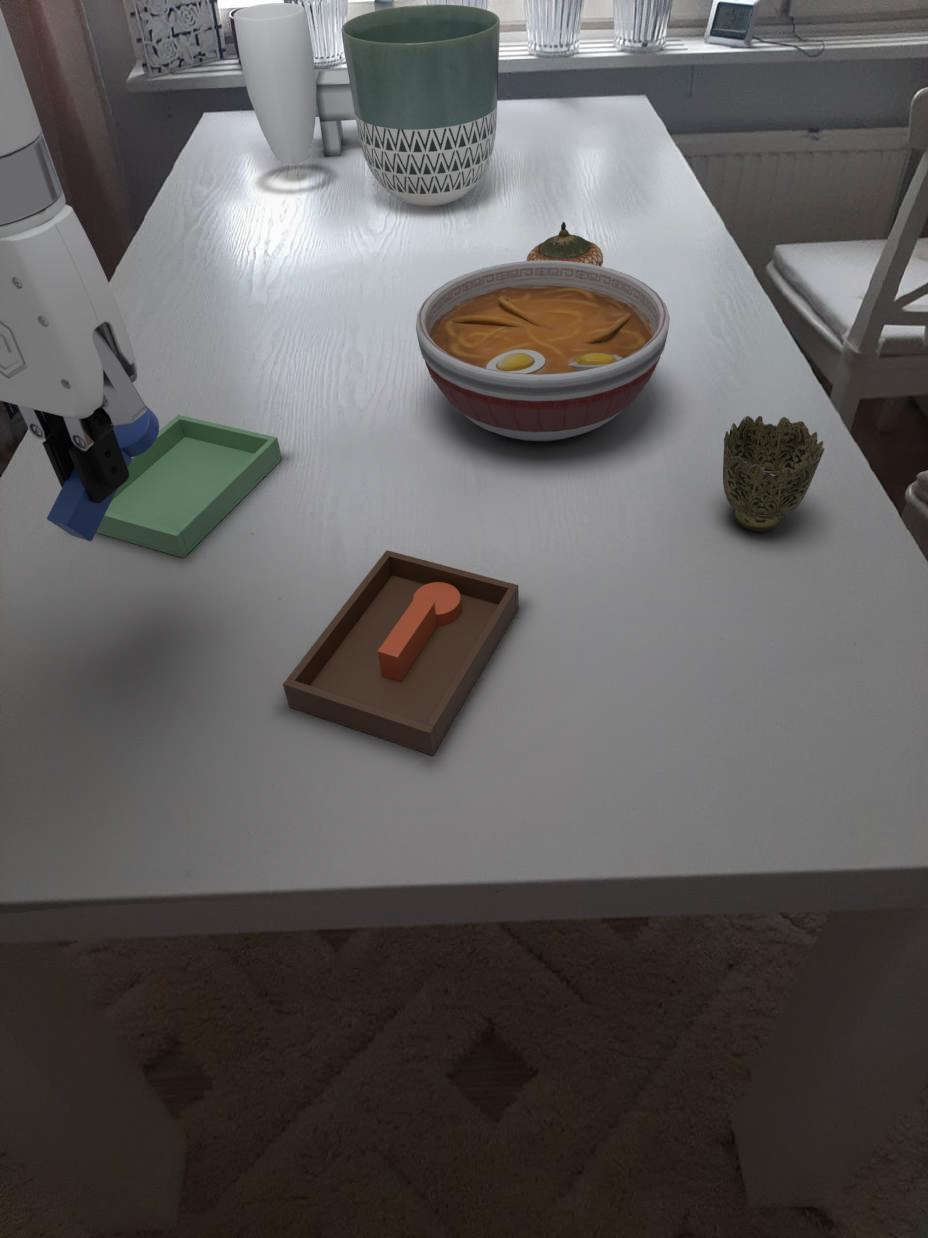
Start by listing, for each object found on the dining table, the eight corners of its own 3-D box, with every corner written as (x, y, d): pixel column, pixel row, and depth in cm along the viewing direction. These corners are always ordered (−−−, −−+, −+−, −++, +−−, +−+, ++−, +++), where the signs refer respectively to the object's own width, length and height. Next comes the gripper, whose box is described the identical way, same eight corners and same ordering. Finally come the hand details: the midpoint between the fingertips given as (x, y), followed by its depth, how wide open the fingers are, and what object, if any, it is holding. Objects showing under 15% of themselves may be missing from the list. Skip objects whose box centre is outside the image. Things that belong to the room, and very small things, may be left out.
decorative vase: (804, 500, 79) (825, 419, 74) (802, 556, 74) (824, 473, 69) (714, 489, 81) (728, 409, 75) (706, 543, 76) (720, 460, 70)
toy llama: (312, 141, 152) (291, -4, 138) (420, 135, 152) (410, -11, 138) (308, 157, 147) (286, 7, 133) (420, 150, 146) (409, 0, 132)
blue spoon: (104, 546, 58) (79, 529, 56) (59, 531, 59) (33, 515, 57) (168, 414, 60) (146, 392, 58) (124, 403, 61) (101, 381, 59)
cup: (332, 164, 144) (310, -1, 129) (330, 189, 136) (305, 17, 121) (265, 169, 144) (234, 4, 128) (258, 194, 136) (225, 22, 121)
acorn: (611, 304, 107) (617, 214, 100) (578, 335, 102) (582, 243, 95) (548, 289, 110) (549, 202, 103) (512, 318, 105) (511, 229, 98)
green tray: (183, 558, 77) (176, 535, 76) (79, 527, 81) (69, 505, 79) (282, 459, 87) (277, 437, 86) (184, 435, 91) (178, 414, 89)
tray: (432, 755, 62) (430, 733, 60) (288, 706, 65) (282, 684, 64) (518, 608, 71) (518, 584, 70) (389, 572, 75) (386, 549, 73)
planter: (336, 217, 128) (312, 38, 113) (399, 168, 141) (384, 1, 126) (469, 234, 122) (462, 47, 107) (522, 181, 135) (522, 7, 120)
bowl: (602, 504, 80) (610, 402, 73) (378, 440, 89) (366, 343, 82) (692, 378, 94) (705, 283, 87) (491, 334, 103) (489, 243, 96)
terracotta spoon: (413, 686, 66) (410, 661, 64) (368, 672, 67) (364, 647, 65) (468, 600, 72) (467, 574, 70) (426, 588, 73) (424, 563, 71)
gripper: (-195, 193, 46) (-37, 493, 59) (42, 234, 41) (159, 553, 54) (-76, 142, 51) (47, 430, 64) (150, 173, 46) (234, 480, 59)
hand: (97, 485), depth 59 cm, fingers closed on blue spoon, 1 cm apart
